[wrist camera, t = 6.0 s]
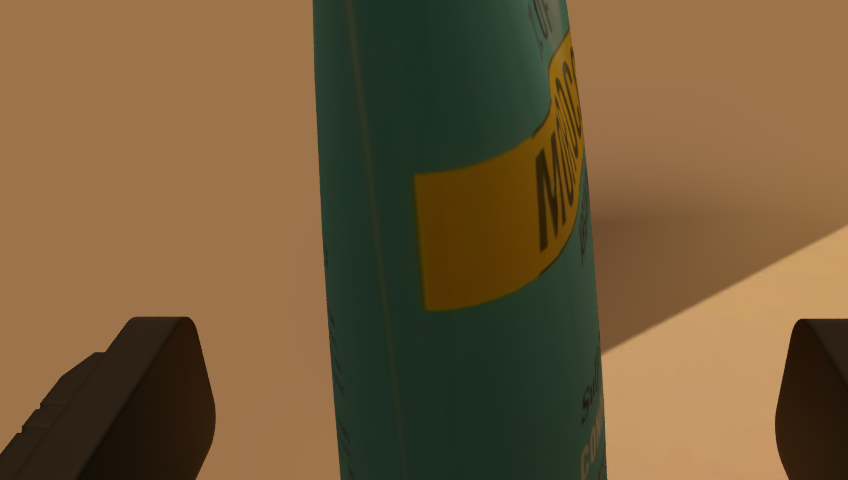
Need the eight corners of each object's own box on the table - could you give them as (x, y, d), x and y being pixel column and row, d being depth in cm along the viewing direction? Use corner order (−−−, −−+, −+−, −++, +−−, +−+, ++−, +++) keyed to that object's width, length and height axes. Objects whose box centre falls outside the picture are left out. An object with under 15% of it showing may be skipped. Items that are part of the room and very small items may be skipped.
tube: (624, 996, 13) (881, -709, 4) (336, 962, 13) (-61, -575, 4) (590, 598, 19) (652, -374, 10) (396, 586, 20) (291, -340, 11)
